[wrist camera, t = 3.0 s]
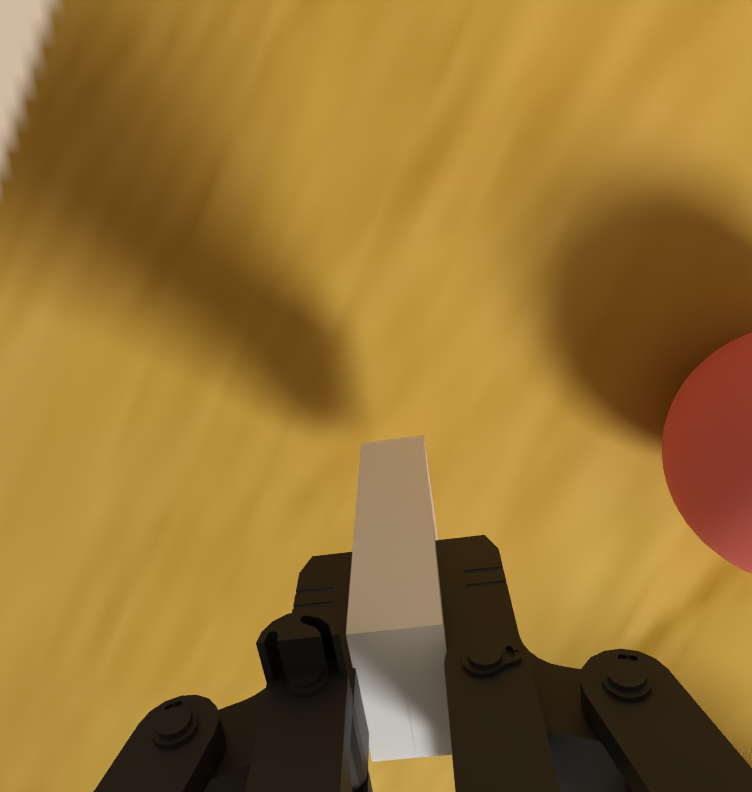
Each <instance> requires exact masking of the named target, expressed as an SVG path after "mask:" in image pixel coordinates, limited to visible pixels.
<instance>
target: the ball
mask: <svg viewBox="0 0 752 792" xmlns="http://www.w3.org/2000/svg"><path fill="white" fill-rule="evenodd" d="M662 459H663V469H664V474H665V478H666V482H667V485H668V488H669V491H670V494H671V496H672V498H673V501H674V503H675V505H676V506H677V508H678V510H679V512H680V513H681V515H682V516H683V518H684V520H685V521H686V523H687V524H688V525H689V526H690V527H691V529H692V530H693V531H694V532H695V533H696V534H697V536H698V537H699V538H700V539H701V540H702V541H703V542H704V543H705V544H706V545H707V546H709V547H710V548H711V549H712V550H713V551H715V552H716V553H717V554H718V555H720V556H721V557H722V558H724V559H725V560H727V561H729V562H730V563H732V564H733V565H735V566H737V567H739V568H741V569H743V570H745V571H747V572H749V573H751V574H752V332H751V333H748V334H746V335H744V336H741V337H739V338H737V339H735V340H732V341H731V342H729V343H727V344H726V345H724V346H722V347H720V348H719V349H718V350H716V351H715V352H713V353H712V354H711V355H709V356H708V357H707V358H706V359H705V360H703V361H702V362H701V363H700V364H699V365H698V366H697V367H696V368H695V369H694V370H693V371H692V373H691V374H690V375H689V376H688V377H687V378H686V380H685V381H684V383H683V384H682V386H681V387H680V389H679V390H678V392H677V394H676V396H675V398H674V400H673V402H672V404H671V407H670V410H669V412H668V415H667V418H666V422H665V426H664V431H663V439H662Z"/></svg>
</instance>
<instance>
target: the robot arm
mask: <svg viewBox="0 0 752 792" xmlns="http://www.w3.org/2000/svg"><path fill="white" fill-rule="evenodd" d="M293 606H294V609H293V610H292V613H290V614H286V615H284V616H283V617H281V618H279V619H277V620H275V621H273V622H272V623H271V624H270V625H269V626H267V627H266V628H265V629H264V630H263V631H262V632H261V634H260V636H259V638H258V640H257V642H256V645H257V649H258V652H259V656H260V660H261V663H262V667H263V671H264V675H265V678H266V682H267V685H266V688H265V689H263V690H262V691H260V692H259V693H258V694H256V695H255V696H252V697H250V698H248V699H246V700H244V701H241V702H239V703H236V704H233V705H230V706H228V707H225V708H222V709H220V710H218V709H217V707H216V705H215V704H214V703H213V702H212V701H211V700H210V699H208V698H205V697H202V696H199V695H186V696H179V697H176V698H174V699H171V700H168V701H165V702H164V703H162V704H161V705H159V706H157V707H156V708H154V709H153V710H151V711H150V712H149V713H148V714H147V715H146V716H145V718H144V719H143V720H142V721H141V722H140V723H139V724H138V726H137V727H136V729H135V730H134V732H133V733H132V735H131V736H130V738H129V739H128V741H127V742H126V744H125V745H124V747H123V748H122V750H121V751H120V753H119V754H118V756H117V757H116V759H115V760H114V762H113V763H112V765H111V766H110V768H109V769H108V771H107V772H106V774H105V775H104V777H103V778H102V780H101V781H100V783H99V784H98V786H97V787H96V789H95V790H94V792H373V791H372V786H371V781H370V776H369V771H368V753H369V749H370V753H371V758H372V762H375V761H386V760H397V759H407V758H418V757H429V756H440V755H450V754H452V758H453V769H454V779H455V790H456V792H752V768H751V767H750V766H749V764H748V763H747V762H746V761H745V760H744V758H743V757H742V756H741V755H740V754H739V753H738V751H737V750H736V749H735V748H734V747H733V745H732V744H731V743H730V742H729V741H728V740H727V738H726V737H725V736H724V735H723V734H722V732H721V731H720V730H719V729H718V728H717V727H716V725H715V724H714V723H713V722H712V721H711V719H710V718H709V717H708V716H707V715H706V714H705V712H704V711H703V710H702V709H701V708H700V706H699V705H698V704H697V703H696V702H695V700H694V699H693V698H692V697H691V696H690V695H689V693H688V692H687V691H686V690H685V689H684V687H683V686H682V685H681V684H680V683H679V682H678V680H677V679H676V678H675V677H674V676H673V674H672V673H671V672H670V671H669V670H668V669H667V668H666V667H665V666H664V665H662V664H661V663H660V662H659V661H658V660H656V659H655V658H653V657H651V656H648V655H646V654H644V653H641V652H639V651H633V650H626V649H616V650H608V651H603V652H601V653H599V654H597V655H595V656H593V657H591V658H590V659H589V660H588V661H587V663H586V664H585V665H584V666H583V667H582V669H575V668H569V667H563V666H558V665H554V664H550V663H548V662H546V661H544V660H541V659H539V658H538V657H536V656H535V655H533V654H532V653H531V652H529V650H528V649H527V648H526V647H525V646H524V645H523V643H522V641H521V638H520V636H519V633H518V629H517V624H516V620H515V616H514V612H513V608H512V603H511V599H510V595H509V591H508V587H507V584H506V578H505V574H504V570H503V566H502V562H501V557H500V553H499V549H498V548H497V547H496V546H495V545H494V544H493V543H492V542H491V541H490V540H489V539H488V538H487V537H486V536H485V535H479V536H471V537H462V538H453V539H445V540H438V538H437V530H436V522H435V515H434V508H433V500H432V493H431V486H430V478H429V471H428V464H427V456H426V449H425V442H424V436H416V437H408V438H400V439H392V440H384V441H376V442H368V443H361V451H360V464H359V476H358V489H357V501H356V514H355V527H354V539H353V552H347V553H338V554H329V555H321V556H312V558H311V559H310V560H309V561H308V563H307V564H306V565H305V567H304V568H303V569H302V571H301V572H300V573H299V578H298V584H297V589H296V594H295V600H294V605H293Z"/></svg>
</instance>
